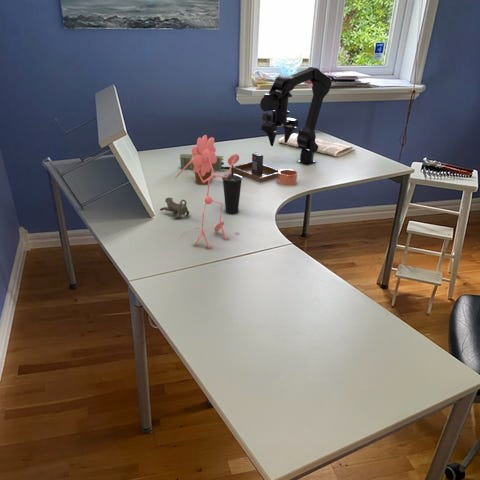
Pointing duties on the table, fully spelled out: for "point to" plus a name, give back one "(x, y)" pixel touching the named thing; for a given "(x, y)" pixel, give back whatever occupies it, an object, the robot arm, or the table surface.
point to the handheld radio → (187, 158)
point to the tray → (246, 171)
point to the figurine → (202, 161)
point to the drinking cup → (232, 192)
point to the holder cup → (287, 177)
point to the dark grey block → (257, 163)
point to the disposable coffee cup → (198, 180)
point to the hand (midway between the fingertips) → (278, 144)
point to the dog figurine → (176, 208)
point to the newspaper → (321, 146)
